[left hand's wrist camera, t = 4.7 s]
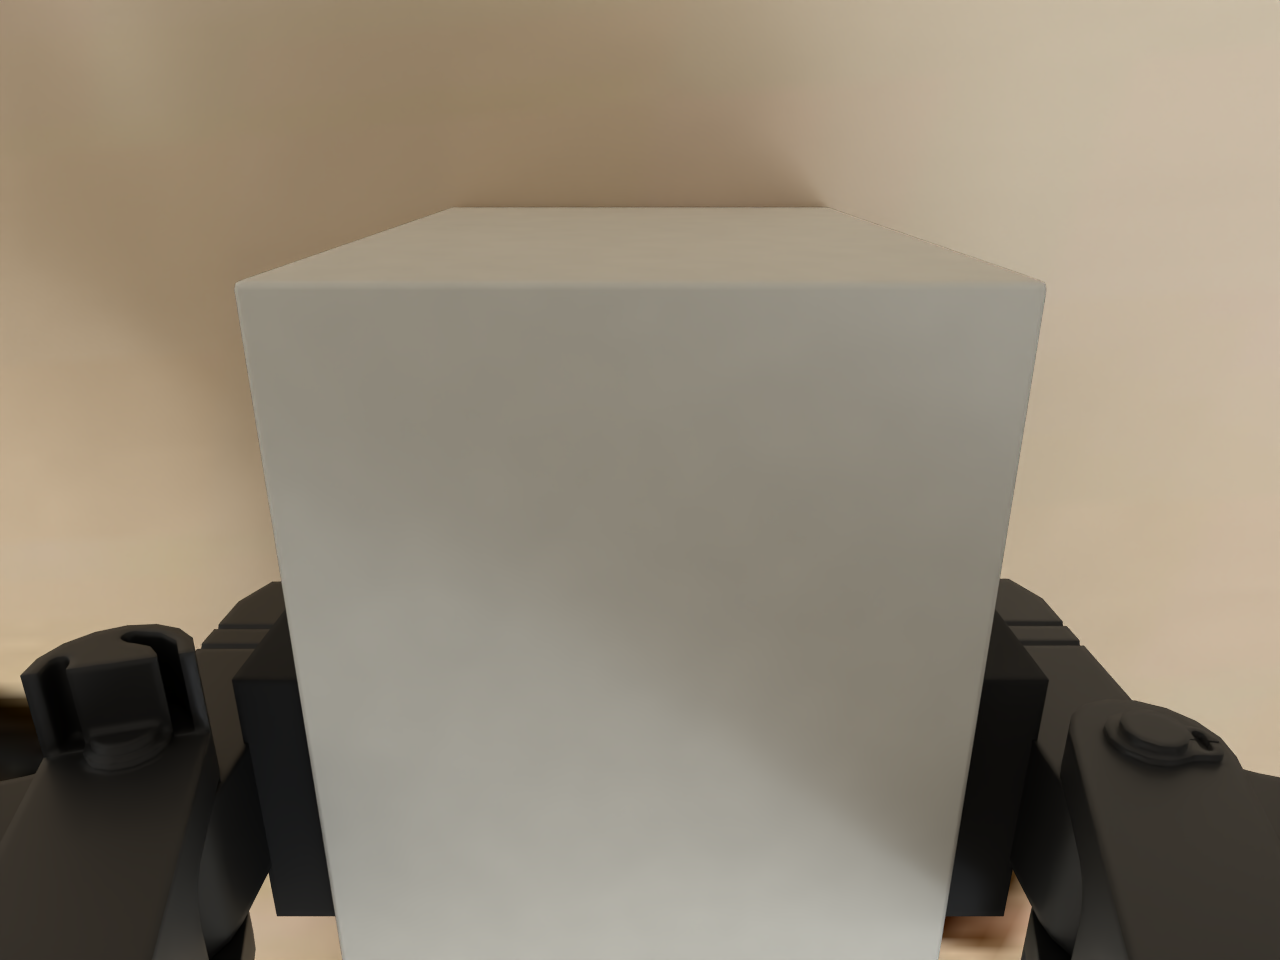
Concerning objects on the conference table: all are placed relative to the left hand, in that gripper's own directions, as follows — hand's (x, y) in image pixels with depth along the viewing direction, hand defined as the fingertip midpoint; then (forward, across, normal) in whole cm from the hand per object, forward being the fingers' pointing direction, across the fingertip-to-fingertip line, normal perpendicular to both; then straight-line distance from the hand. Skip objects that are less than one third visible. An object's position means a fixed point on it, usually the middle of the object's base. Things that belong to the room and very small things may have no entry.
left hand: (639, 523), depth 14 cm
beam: (+1, 0, -37) cm, 37 cm away
